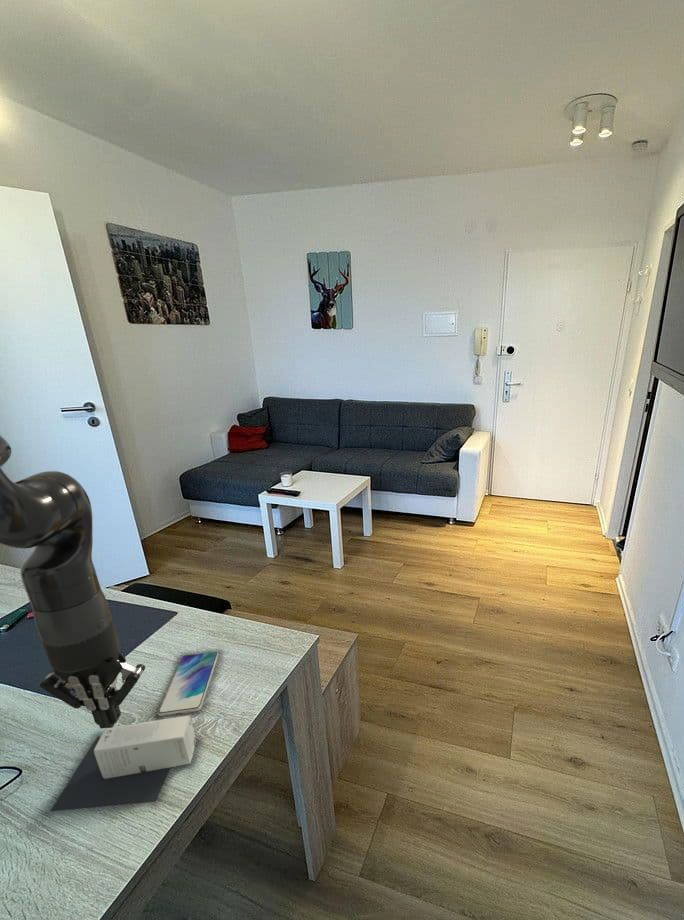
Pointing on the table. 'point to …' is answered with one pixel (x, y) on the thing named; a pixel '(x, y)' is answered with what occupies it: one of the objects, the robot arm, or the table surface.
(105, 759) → the cosmetic box
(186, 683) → the smartphone
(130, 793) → the mat
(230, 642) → the table surface
